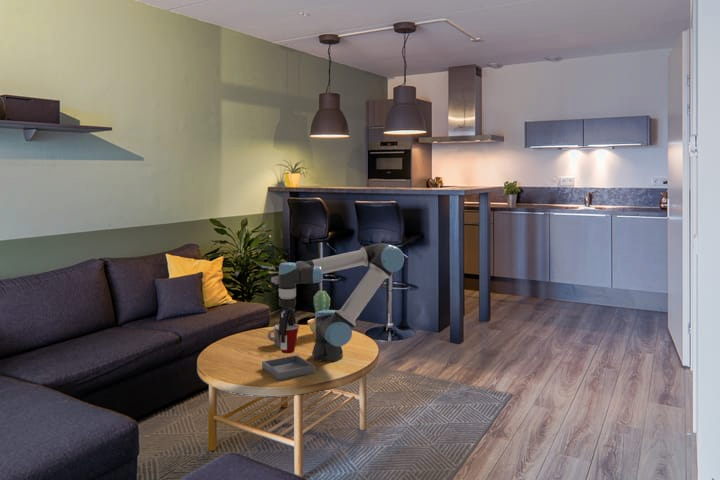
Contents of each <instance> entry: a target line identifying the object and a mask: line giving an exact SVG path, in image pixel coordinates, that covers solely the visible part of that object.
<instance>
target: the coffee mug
mask: <svg viewBox="0 0 720 480" xmlns="http://www.w3.org/2000/svg"><path fill="white" fill-rule="evenodd" d="M276 326H279V323H278V324H275V325H274V328H272V329H271V328H270V329H269V330H268V333H267V337H268V340H270V341H272V342H274V346H275V347H277V348H280V349H281V346H280V342H279V336H278V332H277V330H276V328H275V327H276ZM272 333H273V334H274V335H273V337H271V334H272Z"/></svg>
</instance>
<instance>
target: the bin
mask: <svg viewBox="0 0 720 480" xmlns="http://www.w3.org/2000/svg"><path fill="white" fill-rule="evenodd" d="M261 368H262V370H263V371H265V372H266V373H267V374H268V375H270V376H271V377H273V378H274V379H275V380H276V381H283V380H287V379H289V380H290V379H294V378H299V377H304V376H307V375H313V374H315V365H314V364H313V363H312V362H309V361H308V360H305V359H304V358H303V357H301V356H299V355H298V354H295V355H288V356H285V357H279V358H273V359H268V360H263V361H261Z"/></svg>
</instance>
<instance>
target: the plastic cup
mask: <svg viewBox="0 0 720 480" xmlns="http://www.w3.org/2000/svg"><path fill="white" fill-rule="evenodd" d="M275 326H276V325H275ZM275 326H274V329H275V328H276V330H277V332H278V334H279V326H276V327H275ZM299 328H300V324H297V323H296V324H294V325H293V326H288V325H287V329H286V335H287V350H281V349H280V351H281V353H282V354H293V353H294V352H295V350H296V344H297V338H298V332H299ZM282 333H283V332H282ZM278 336H279V342H280V346H281V335H278Z"/></svg>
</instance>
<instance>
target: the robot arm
mask: <svg viewBox="0 0 720 480" xmlns="http://www.w3.org/2000/svg"><path fill="white" fill-rule="evenodd" d="M404 263H405V255H404V253H403V251H402V250H401V249H400V248H399V247H397V246H395V245H390V244H388V243H383V242H379V243H376V244H371V245H367V246H362V247H361V248H360V249H359V250H358V249H357V250H354V251H350V252H349V251H348V252H344V253H340V254H336V255H331V256H325V257H319V258H316V259H311V260H305V261H303V260H299V261H296V262H290V261H289V262H281V263H280V264H279V265H278V272H277V273H278V290H277V292H278V297H279V298H278V306H279V307H281V308H282V310H281V312H279V320H278V321H279V323H278V324H279V334H278V335H281V348H280V351H281V350H287V335H286V329H287V325H288V326H293V325H294V324H297V320H296V306H297V298H296V297H297V284H298V285H299V284H316V283H321V282H322V281H323V276H324V275H323V274H328V273H334V272H337V271H342V270H347V269H352V268H356V267H360V266H364V267H369V269H368V270H367V272H366V273H365V275H364V276H363V277H362V279H361V280H360V282H358V285H356V287H355V289H354V290H353V292H352V293H351V294H350V296H349V297H348V298H347V299H346V301H345V302H344V303H343V305H342V307H341V308H340V309H338V310H336V309H328V310H323V311H318V312H316V317H315V316H314V319H316V337H315V342H314V345H313V350H312V351H311V358H312V359H313V360H314V361H318V362H326V363H327V362H336V361H340V360H341V359H343V358H344V351H343V348H342V347H343V346H345V345H347V344H348V343H349V342H350V341H351V339H352V337H353V330H354V328H355V327H356V326H357V325H356V320H357V319H358V318H359V316H360V314H361V313H362V311H363V310H364V308H366V306H367V304H368V303H369V302H370V301H371V299H372V298H373V296H374V295H375V293H376V292H377V290H378V289H379V288H380V286H381V285H382V284H383V282H384V280H386V279H390V278H391V277H392V275H393V274H394V273H396V272H398V271H399V270H401V269H402V268H403V266H404ZM282 332H283V333H282ZM342 357H343V358H342ZM339 359H340V360H339Z"/></svg>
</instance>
